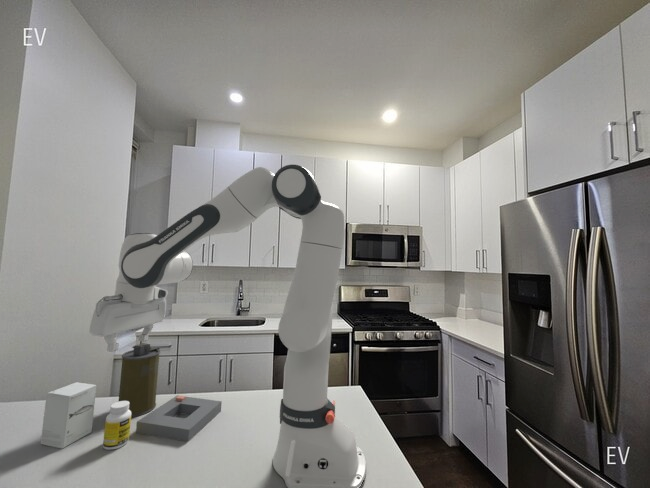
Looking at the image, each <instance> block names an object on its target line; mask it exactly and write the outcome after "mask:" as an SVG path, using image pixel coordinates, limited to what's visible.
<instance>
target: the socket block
mask: <svg viewBox="0 0 650 488" xmlns="http://www.w3.org/2000/svg"><path fill="white" fill-rule="evenodd" d="M221 411H222V400H214V399H206V398H198V397H192V396H191V397H190V396H186V395H175V396H174V397H173V398H170V400H168V401H166V402H165V403H163V404H162V405H160V406H159V407H157V408H156V409H155V408H154V409H153V410H151V411H150V412H148V414H146V415H145V416H143V417H142V418H140V419H138V420H137V421H136V429H135V433H136V434H138V435H139V434H140V435H146V436H153V437H158V438H164V439H170V440H177V441H182V442H190V441H191V440H192V439H194V437H195V436H196V435H197V434H198V433H200V431H202V430H203V429H204V428H205V427H206V426H207V425H208V424H209V423H210V422H212V420H213V419H214V418H215V417H216V416H217V415H219V414H220V413H221ZM180 414H182V415H188V416H187V417H185V418H184V417H177V416H178V415H180Z"/></svg>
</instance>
